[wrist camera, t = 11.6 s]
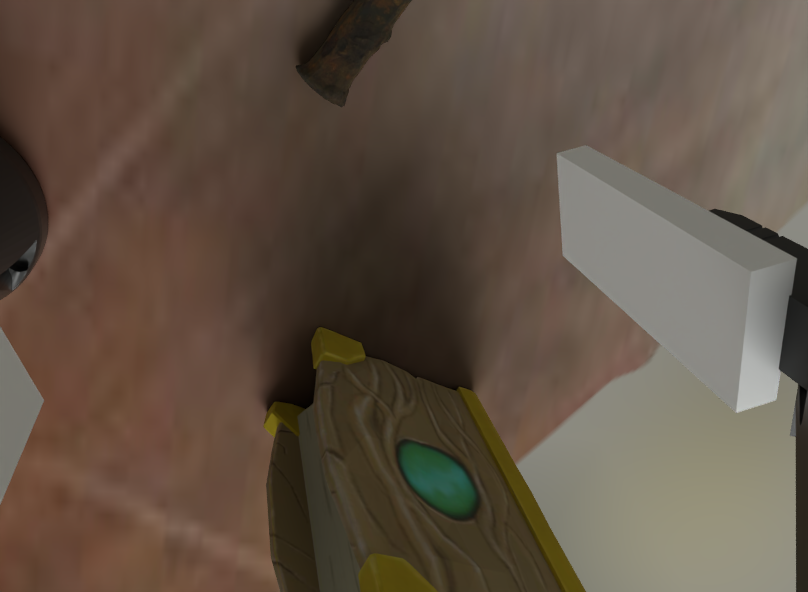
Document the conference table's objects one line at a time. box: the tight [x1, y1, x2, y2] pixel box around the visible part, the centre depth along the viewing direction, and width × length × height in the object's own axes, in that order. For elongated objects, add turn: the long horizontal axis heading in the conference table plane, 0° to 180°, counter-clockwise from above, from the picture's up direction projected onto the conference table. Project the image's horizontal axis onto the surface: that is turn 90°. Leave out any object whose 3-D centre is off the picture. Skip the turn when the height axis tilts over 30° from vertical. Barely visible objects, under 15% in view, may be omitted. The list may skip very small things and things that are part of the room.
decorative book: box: [263, 327, 586, 592], centre depth 50 cm, size 20×11×30 cm, turn 57°
